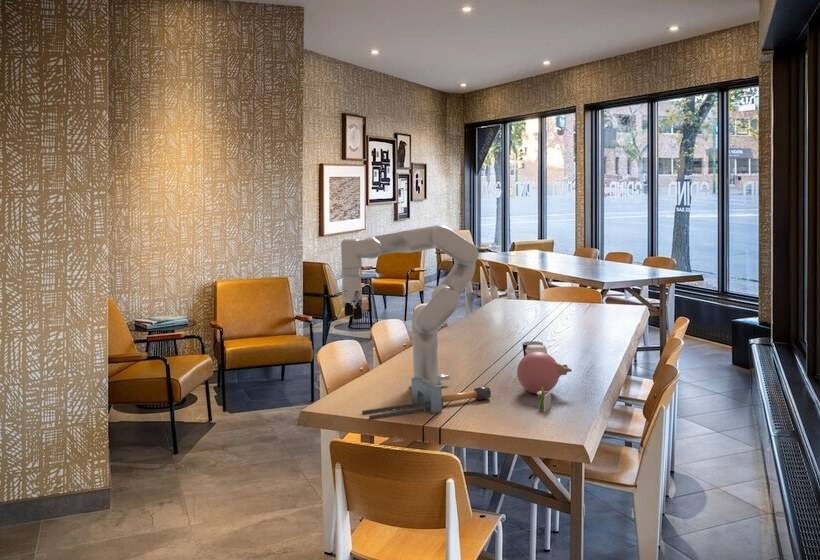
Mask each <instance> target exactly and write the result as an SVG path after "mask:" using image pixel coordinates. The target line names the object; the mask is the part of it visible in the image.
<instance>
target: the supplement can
mask: <svg viewBox="0 0 820 560" xmlns="http://www.w3.org/2000/svg"><path fill="white" fill-rule="evenodd" d="M532 352H544V353H546V354H548V349H547V348H546V345H545V344H543V345H540V344H532V345H527V348H526V350H525V356H526V355H527V354H529V353H532Z"/></svg>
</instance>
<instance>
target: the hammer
mask: <svg viewBox="0 0 820 560" xmlns="http://www.w3.org/2000/svg"><path fill="white" fill-rule="evenodd" d="M491 395H492V392H491V389H490V387H489V386H480V387H475V388H473V391H465V392H457V393H451V394H445V395H444V394H443V395H442V407H443V406H444V403H449V402H455V401H463V400H468V399H469V400H470V399H475V401H481V400H489V399H490V398H491V397H492V396H491Z"/></svg>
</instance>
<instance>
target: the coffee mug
mask: <svg viewBox="0 0 820 560" xmlns="http://www.w3.org/2000/svg"><path fill="white" fill-rule="evenodd" d="M532 344H540V345H544V343H543V342H542V341H534V340H532V341H531V340H529V341H523V342H522V344H521V345H522V351H523V357H525V350H526V348H527V345H532Z"/></svg>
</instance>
